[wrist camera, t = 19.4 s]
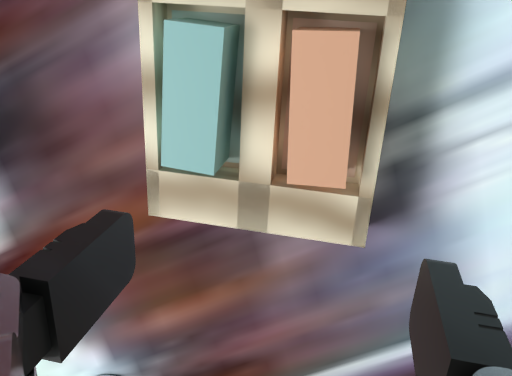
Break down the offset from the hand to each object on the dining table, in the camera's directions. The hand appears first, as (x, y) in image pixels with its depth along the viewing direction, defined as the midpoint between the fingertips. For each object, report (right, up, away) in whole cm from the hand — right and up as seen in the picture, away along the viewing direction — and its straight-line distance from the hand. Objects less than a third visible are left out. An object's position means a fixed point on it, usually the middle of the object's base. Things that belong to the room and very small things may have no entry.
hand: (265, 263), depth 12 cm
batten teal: (-4, +9, +21) cm, 24 cm away
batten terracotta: (+5, +8, +20) cm, 22 cm away
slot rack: (+1, +9, +22) cm, 24 cm away
